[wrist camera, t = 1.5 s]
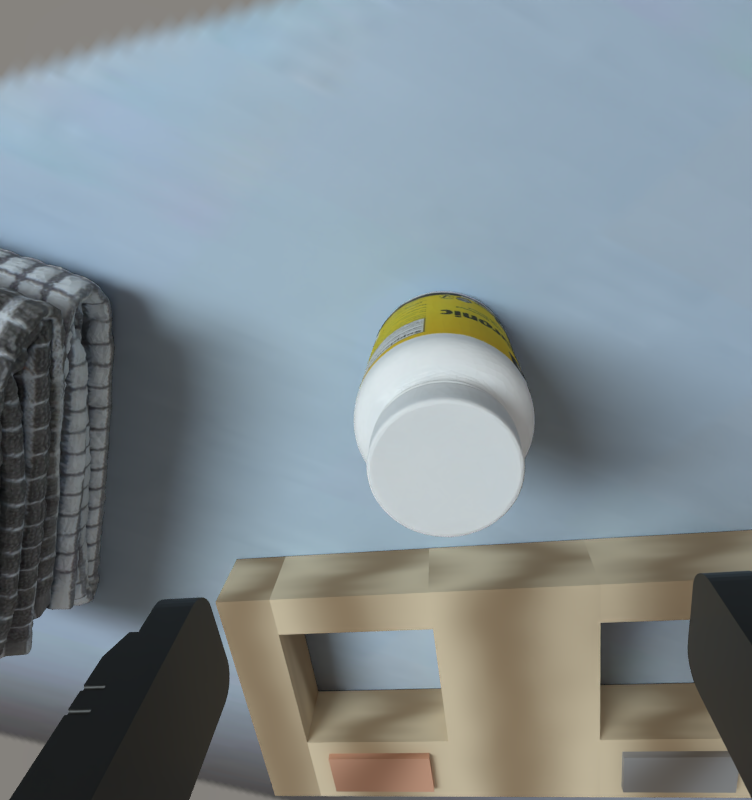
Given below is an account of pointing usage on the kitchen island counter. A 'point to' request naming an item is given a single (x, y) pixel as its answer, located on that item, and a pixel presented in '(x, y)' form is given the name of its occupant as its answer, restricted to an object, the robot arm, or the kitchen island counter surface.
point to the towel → (50, 441)
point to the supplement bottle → (444, 416)
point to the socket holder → (481, 670)
